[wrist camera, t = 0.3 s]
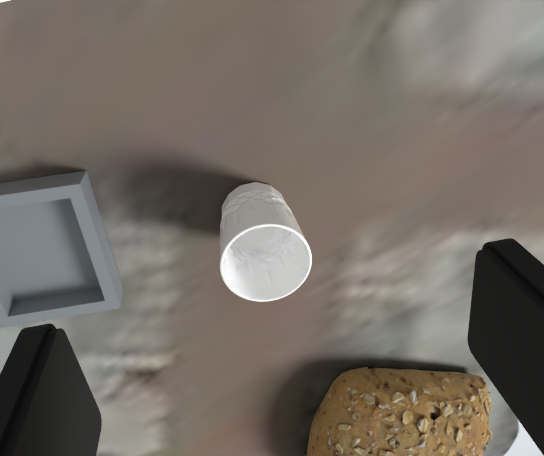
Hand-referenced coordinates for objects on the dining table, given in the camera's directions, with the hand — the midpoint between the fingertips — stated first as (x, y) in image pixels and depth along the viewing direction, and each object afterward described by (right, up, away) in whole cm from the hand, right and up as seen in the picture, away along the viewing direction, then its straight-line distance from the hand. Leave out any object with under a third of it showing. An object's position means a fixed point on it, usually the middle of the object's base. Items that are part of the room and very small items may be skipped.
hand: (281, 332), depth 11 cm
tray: (-23, +1, +38) cm, 44 cm away
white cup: (-2, +4, +39) cm, 40 cm away
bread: (+16, -24, +58) cm, 65 cm away
